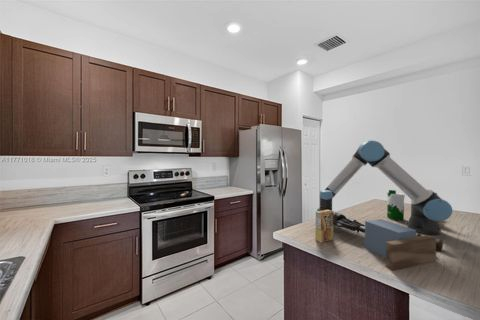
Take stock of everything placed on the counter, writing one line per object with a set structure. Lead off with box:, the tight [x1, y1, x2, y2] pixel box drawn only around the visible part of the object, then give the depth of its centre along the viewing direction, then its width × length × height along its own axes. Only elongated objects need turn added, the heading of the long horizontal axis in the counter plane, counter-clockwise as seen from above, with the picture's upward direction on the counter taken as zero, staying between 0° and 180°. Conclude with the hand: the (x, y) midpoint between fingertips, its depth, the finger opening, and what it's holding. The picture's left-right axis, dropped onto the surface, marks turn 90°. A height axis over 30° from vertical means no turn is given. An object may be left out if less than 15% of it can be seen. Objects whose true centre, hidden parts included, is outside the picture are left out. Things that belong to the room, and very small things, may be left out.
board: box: [385, 234, 437, 271], centre depth 86 cm, size 3×24×10 cm, turn 107°
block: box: [364, 218, 417, 259], centre depth 95 cm, size 16×10×13 cm, turn 17°
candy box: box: [314, 210, 334, 243], centre depth 110 cm, size 9×4×15 cm, turn 116°
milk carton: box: [386, 189, 406, 221], centre depth 147 cm, size 9×9×20 cm
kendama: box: [416, 232, 444, 252], centre depth 99 cm, size 6×10×20 cm
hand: (372, 233), depth 103 cm, fingers closed
